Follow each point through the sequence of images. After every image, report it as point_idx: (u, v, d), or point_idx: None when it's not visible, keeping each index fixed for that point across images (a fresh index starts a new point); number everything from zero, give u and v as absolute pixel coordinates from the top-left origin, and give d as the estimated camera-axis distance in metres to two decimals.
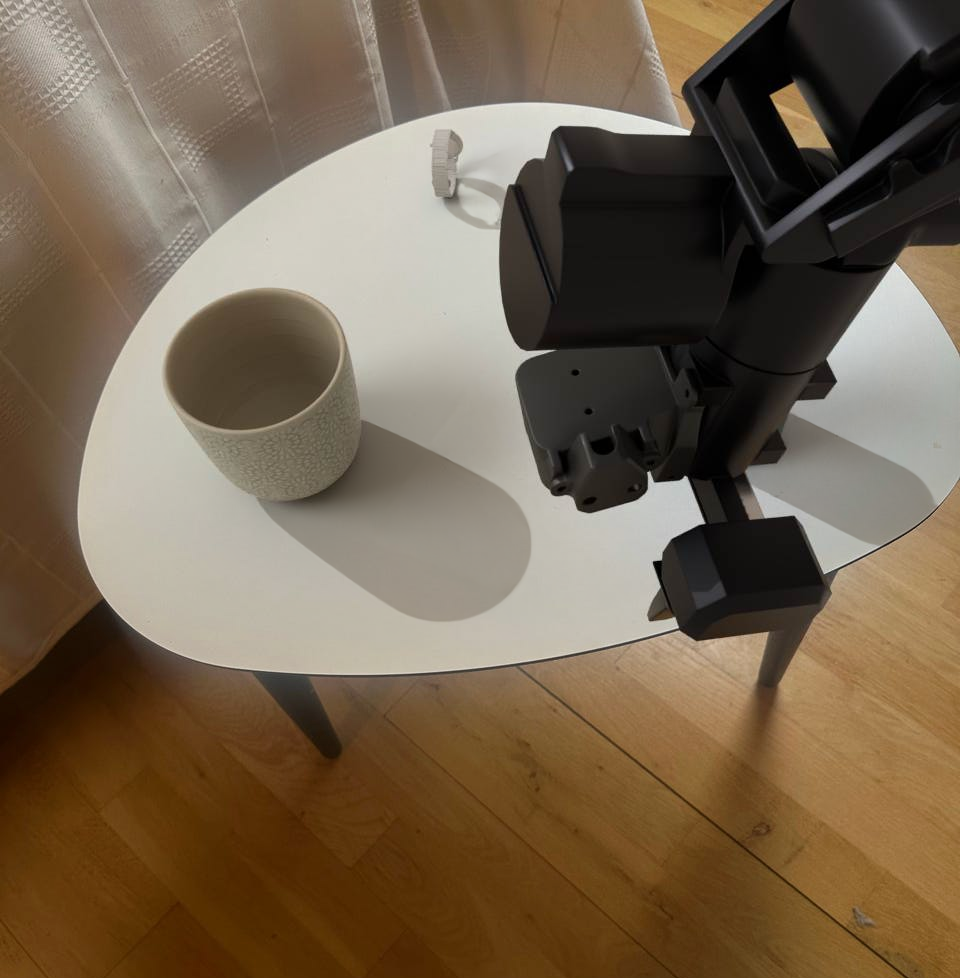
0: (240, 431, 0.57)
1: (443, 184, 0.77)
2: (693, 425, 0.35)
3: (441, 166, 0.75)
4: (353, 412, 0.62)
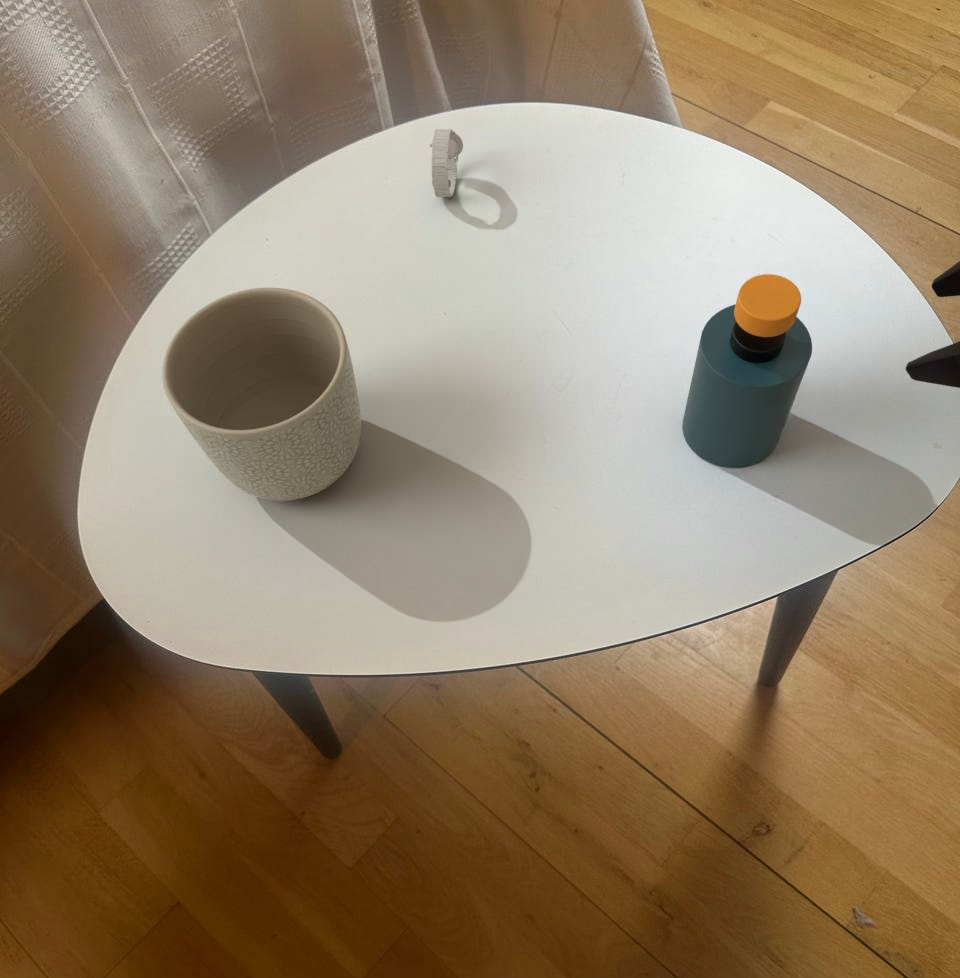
0: (240, 431, 0.57)
1: (443, 184, 0.77)
2: None
3: (441, 166, 0.75)
4: (353, 412, 0.62)
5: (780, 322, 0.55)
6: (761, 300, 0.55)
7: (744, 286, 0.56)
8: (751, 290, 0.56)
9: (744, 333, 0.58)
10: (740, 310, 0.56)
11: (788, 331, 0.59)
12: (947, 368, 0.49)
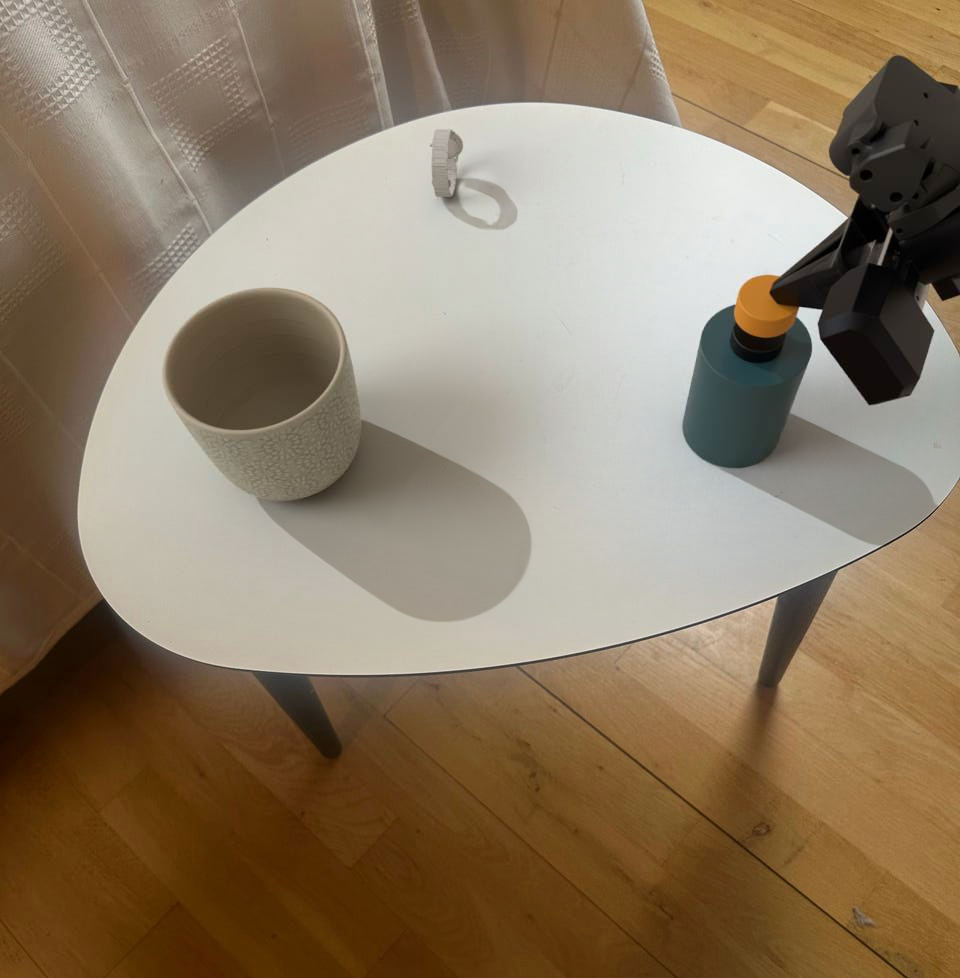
0: (240, 431, 0.57)
1: (443, 184, 0.77)
2: (959, 199, 0.43)
3: (441, 166, 0.75)
4: (353, 412, 0.62)
5: (780, 322, 0.55)
6: (761, 301, 0.55)
7: (744, 287, 0.56)
8: (751, 291, 0.56)
9: (744, 333, 0.58)
10: (740, 310, 0.56)
11: (788, 331, 0.59)
12: (803, 289, 0.53)
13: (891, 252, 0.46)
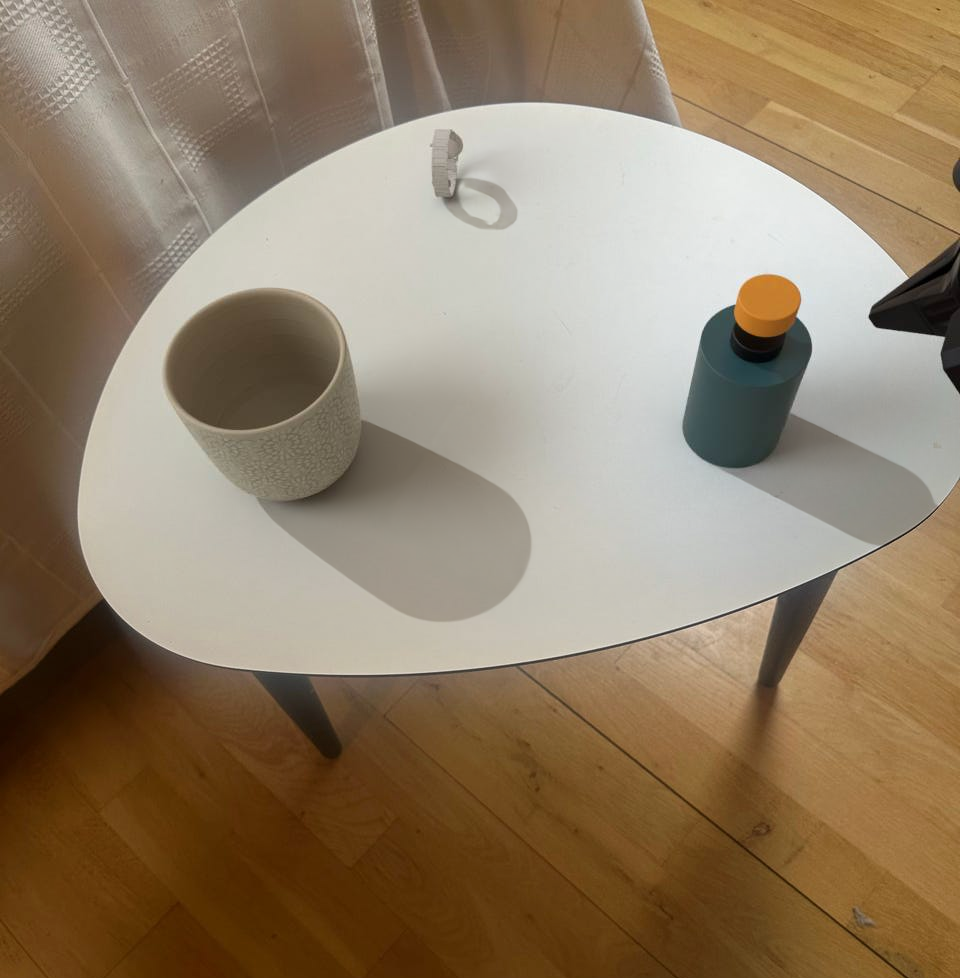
0: (240, 431, 0.57)
1: (443, 184, 0.77)
2: None
3: (441, 166, 0.75)
4: (353, 412, 0.62)
5: (780, 322, 0.55)
6: (761, 300, 0.55)
7: (744, 286, 0.56)
8: (751, 290, 0.56)
9: (744, 333, 0.58)
10: (740, 310, 0.56)
11: (788, 331, 0.59)
12: (907, 314, 0.51)
13: None
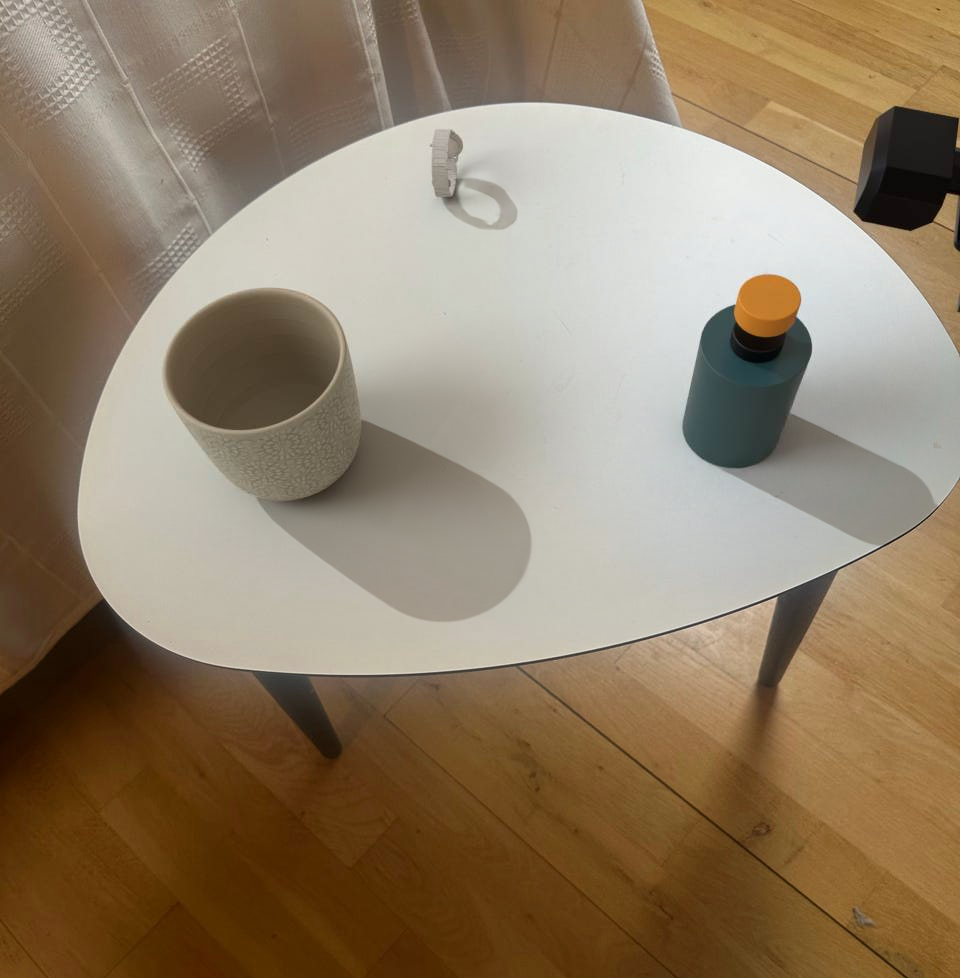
0: (240, 431, 0.57)
1: (443, 184, 0.77)
2: None
3: (441, 166, 0.75)
4: (353, 412, 0.62)
5: (780, 322, 0.55)
6: (761, 300, 0.55)
7: (744, 286, 0.56)
8: (751, 290, 0.56)
9: (744, 333, 0.58)
10: (740, 310, 0.56)
11: (788, 331, 0.59)
12: None
13: None
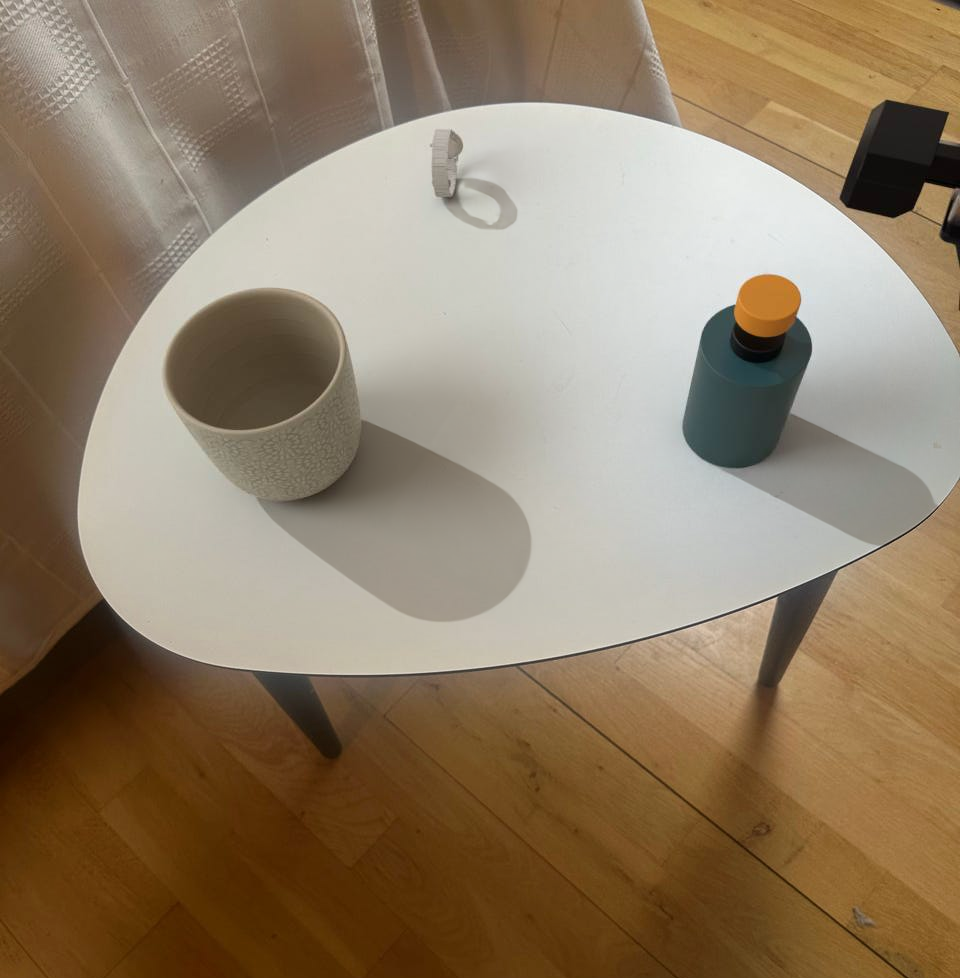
0: (240, 431, 0.57)
1: (443, 184, 0.77)
2: None
3: (441, 166, 0.75)
4: (353, 412, 0.62)
5: (780, 322, 0.55)
6: (761, 300, 0.55)
7: (744, 286, 0.56)
8: (751, 290, 0.56)
9: (744, 333, 0.58)
10: (740, 310, 0.56)
11: (788, 331, 0.59)
12: None
13: None
